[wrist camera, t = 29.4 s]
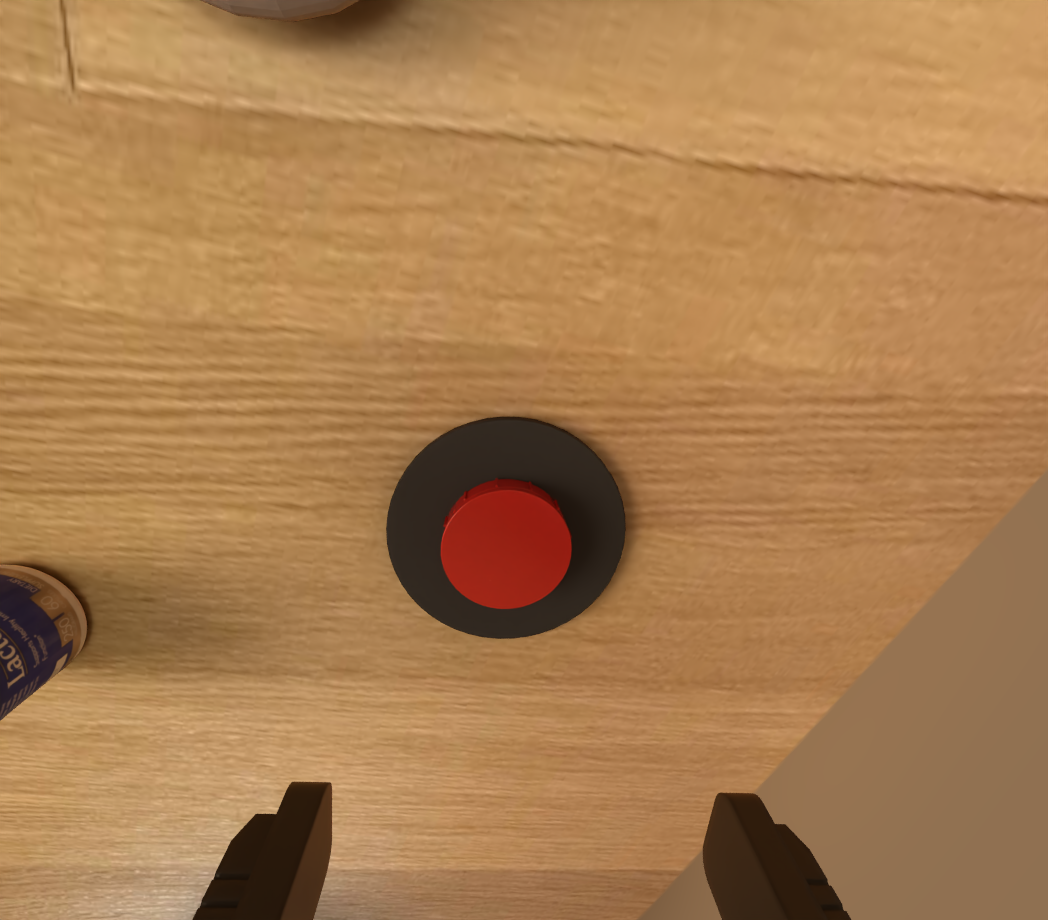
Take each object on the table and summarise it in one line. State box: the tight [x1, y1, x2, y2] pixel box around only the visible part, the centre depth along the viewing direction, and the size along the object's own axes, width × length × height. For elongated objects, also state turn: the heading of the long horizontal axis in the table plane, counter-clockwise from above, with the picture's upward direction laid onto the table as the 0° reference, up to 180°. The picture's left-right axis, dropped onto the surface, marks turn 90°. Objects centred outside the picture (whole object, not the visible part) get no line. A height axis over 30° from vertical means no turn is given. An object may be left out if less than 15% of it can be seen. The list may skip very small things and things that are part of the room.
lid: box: [441, 478, 572, 609], centre depth 23 cm, size 6×6×2 cm
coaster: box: [386, 417, 626, 639], centre depth 24 cm, size 11×11×1 cm
